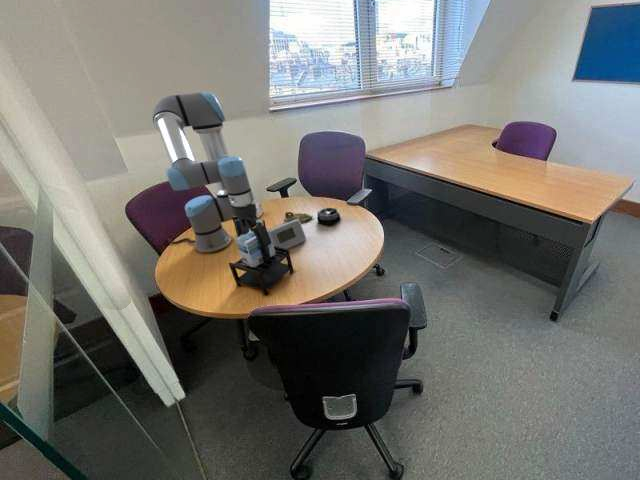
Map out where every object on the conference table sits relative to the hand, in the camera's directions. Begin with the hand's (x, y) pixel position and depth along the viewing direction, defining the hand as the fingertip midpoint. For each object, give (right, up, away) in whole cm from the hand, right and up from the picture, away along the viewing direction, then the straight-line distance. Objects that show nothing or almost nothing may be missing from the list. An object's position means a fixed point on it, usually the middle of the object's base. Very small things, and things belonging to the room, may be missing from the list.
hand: (259, 257), depth 118 cm
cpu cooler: (+19, +17, +45) cm, 52 cm away
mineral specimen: (-24, +19, +53) cm, 61 cm away
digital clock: (+4, +4, +26) cm, 27 cm away
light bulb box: (0, 0, 0) cm, 0 cm away
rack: (0, -9, +5) cm, 10 cm away
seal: (+2, +18, +49) cm, 52 cm away
